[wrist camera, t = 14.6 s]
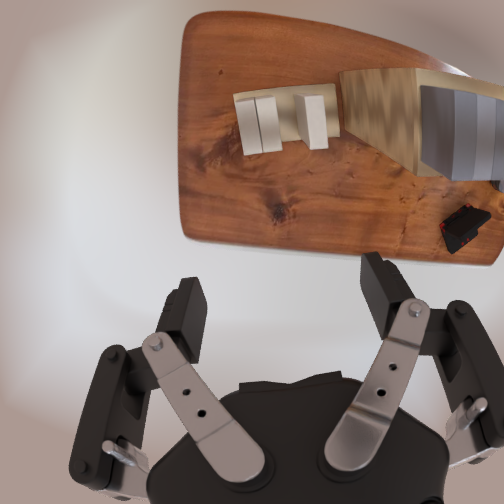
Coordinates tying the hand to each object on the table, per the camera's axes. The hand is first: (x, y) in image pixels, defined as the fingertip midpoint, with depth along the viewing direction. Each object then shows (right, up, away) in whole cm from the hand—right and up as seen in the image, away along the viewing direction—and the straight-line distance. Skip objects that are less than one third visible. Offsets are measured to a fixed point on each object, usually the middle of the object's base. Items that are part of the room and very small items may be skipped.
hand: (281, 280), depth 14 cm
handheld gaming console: (+44, +8, +37) cm, 58 cm away
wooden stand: (+20, +26, +25) cm, 41 cm away
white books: (+4, +23, +27) cm, 36 cm away
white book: (+7, +23, +27) cm, 36 cm away
